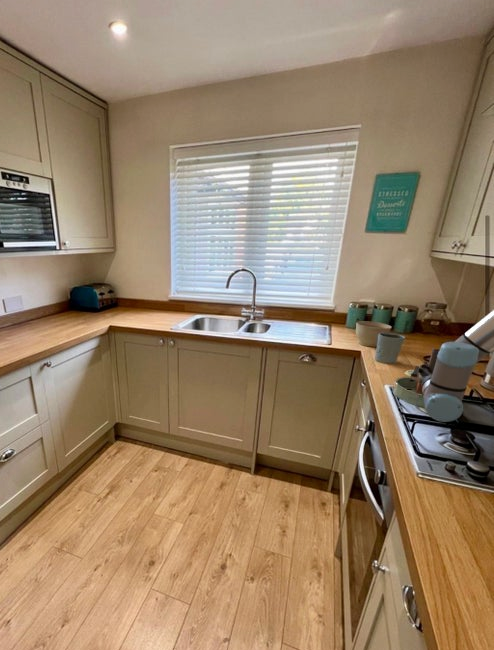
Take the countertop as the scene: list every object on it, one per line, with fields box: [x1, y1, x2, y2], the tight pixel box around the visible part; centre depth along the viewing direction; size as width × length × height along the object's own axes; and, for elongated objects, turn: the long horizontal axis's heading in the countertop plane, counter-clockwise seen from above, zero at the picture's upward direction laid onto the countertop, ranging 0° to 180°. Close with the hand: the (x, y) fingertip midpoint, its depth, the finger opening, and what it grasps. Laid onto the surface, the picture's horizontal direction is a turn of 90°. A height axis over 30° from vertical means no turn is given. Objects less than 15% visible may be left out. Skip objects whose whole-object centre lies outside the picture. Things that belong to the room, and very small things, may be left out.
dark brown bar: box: [421, 348, 440, 393], centre depth 109 cm, size 3×3×15 cm
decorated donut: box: [403, 369, 422, 377], centre depth 127 cm, size 10×11×4 cm
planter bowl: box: [355, 320, 392, 348], centre depth 174 cm, size 16×16×11 cm
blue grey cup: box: [374, 332, 406, 365], centre depth 149 cm, size 10×10×12 cm
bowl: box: [392, 376, 425, 409], centre depth 112 cm, size 18×18×4 cm
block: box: [416, 381, 423, 395], centre depth 115 cm, size 4×4×4 cm
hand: (431, 366), depth 113 cm, fingers closed on dark brown bar, 3 cm apart
